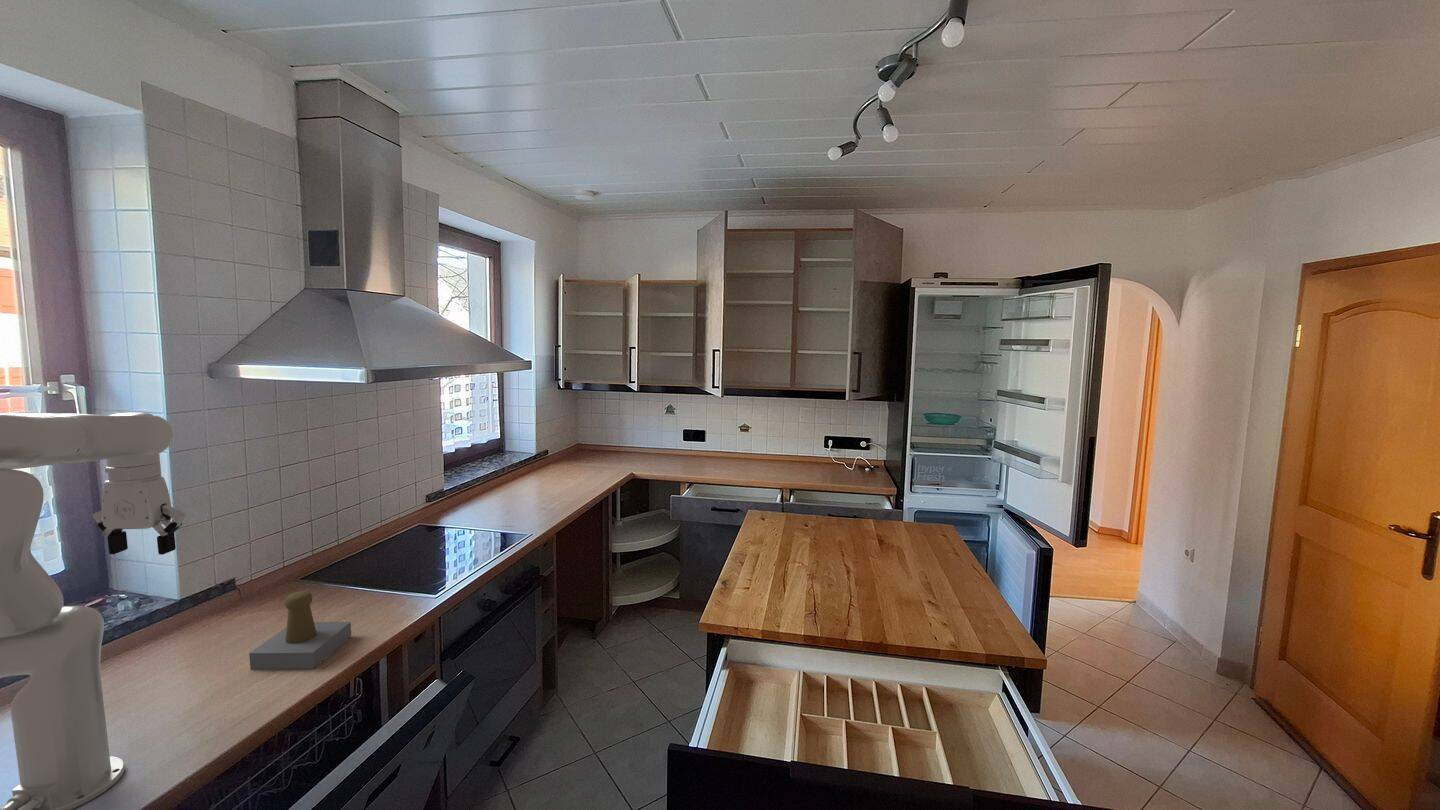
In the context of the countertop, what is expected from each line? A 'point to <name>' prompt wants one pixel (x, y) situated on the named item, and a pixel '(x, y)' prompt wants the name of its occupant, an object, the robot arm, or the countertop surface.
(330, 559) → the countertop surface
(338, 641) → the base block
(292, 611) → the cork
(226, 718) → the countertop surface
